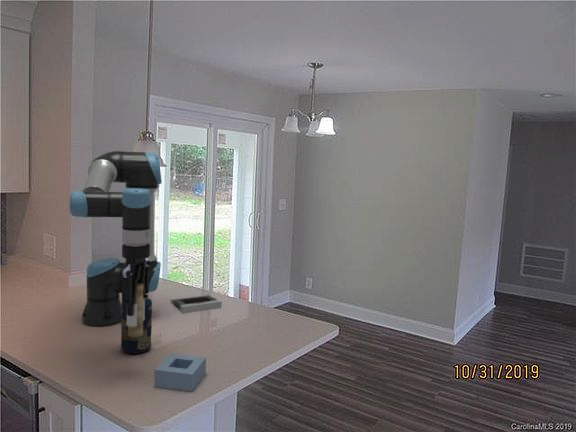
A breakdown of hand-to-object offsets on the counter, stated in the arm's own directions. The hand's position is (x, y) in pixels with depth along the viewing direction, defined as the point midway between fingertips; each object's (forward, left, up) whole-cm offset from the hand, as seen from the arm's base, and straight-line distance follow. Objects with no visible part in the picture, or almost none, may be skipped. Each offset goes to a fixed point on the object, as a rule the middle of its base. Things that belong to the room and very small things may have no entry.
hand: (135, 322), depth 132 cm
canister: (-8, +16, -16) cm, 24 cm away
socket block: (+14, 0, -16) cm, 21 cm away
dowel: (0, 0, -4) cm, 4 cm away
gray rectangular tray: (-6, +65, -16) cm, 67 cm away
